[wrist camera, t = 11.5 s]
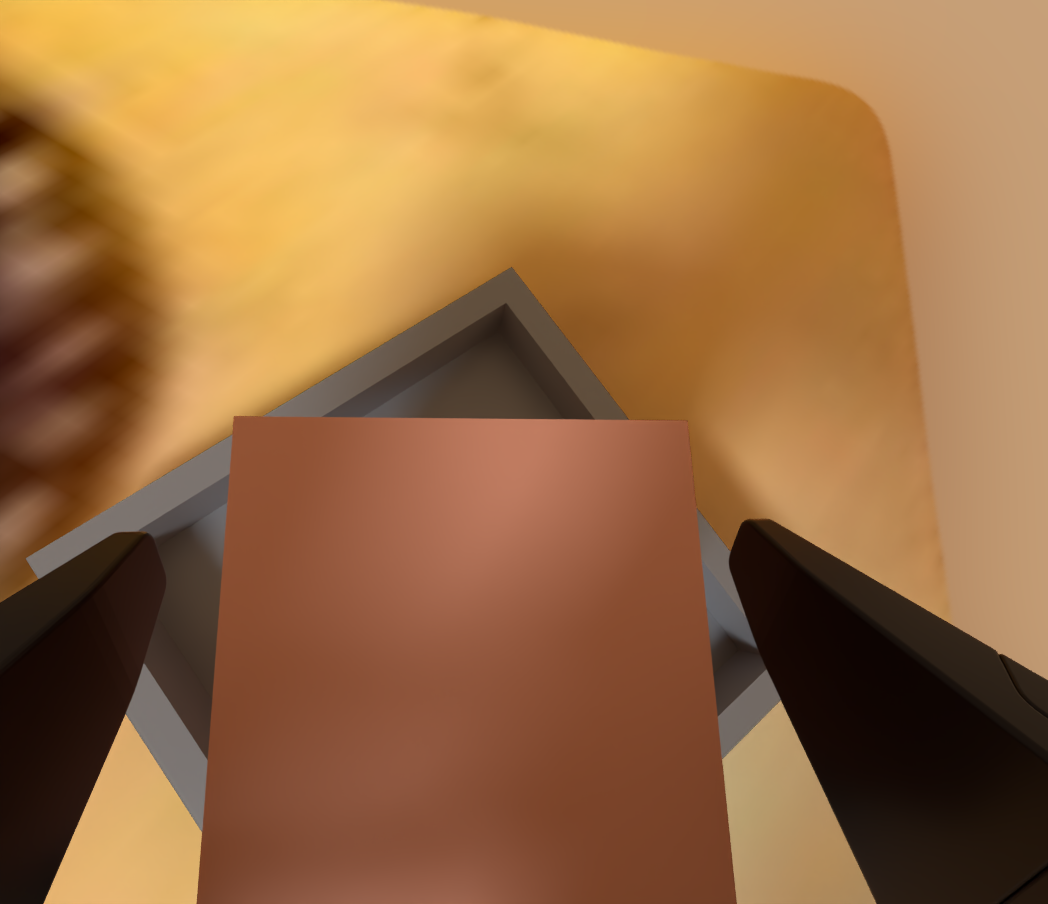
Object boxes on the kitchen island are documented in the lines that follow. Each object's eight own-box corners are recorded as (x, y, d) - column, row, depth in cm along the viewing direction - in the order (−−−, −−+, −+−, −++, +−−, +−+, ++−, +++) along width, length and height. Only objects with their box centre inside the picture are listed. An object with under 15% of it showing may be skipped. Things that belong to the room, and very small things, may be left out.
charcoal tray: (762, 652, 17) (816, 664, 15) (387, 1013, 14) (377, 1105, 11) (501, 307, 18) (512, 267, 16) (90, 561, 15) (26, 558, 12)
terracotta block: (563, 721, 15) (737, 906, 7) (334, 739, 14) (189, 985, 6) (553, 502, 17) (687, 420, 8) (342, 505, 16) (233, 416, 7)
